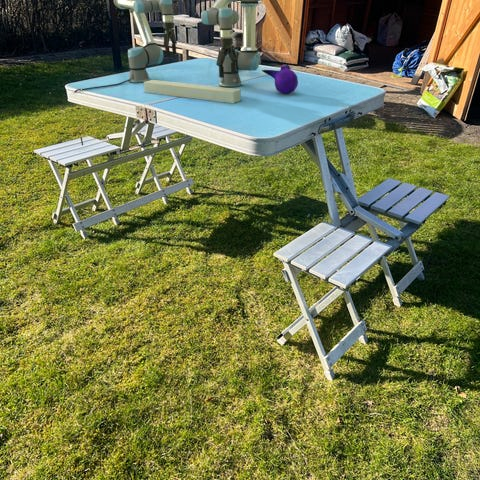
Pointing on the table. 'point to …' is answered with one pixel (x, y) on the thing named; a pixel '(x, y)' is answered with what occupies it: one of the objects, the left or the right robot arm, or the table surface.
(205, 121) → the table surface
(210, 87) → the beige rectangular bar
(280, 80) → the toy
